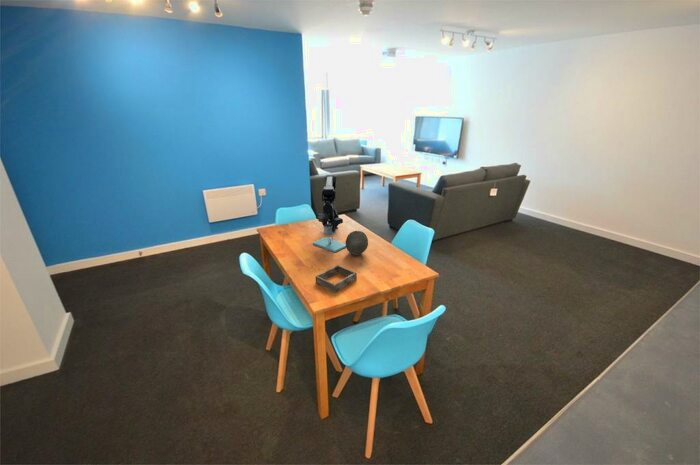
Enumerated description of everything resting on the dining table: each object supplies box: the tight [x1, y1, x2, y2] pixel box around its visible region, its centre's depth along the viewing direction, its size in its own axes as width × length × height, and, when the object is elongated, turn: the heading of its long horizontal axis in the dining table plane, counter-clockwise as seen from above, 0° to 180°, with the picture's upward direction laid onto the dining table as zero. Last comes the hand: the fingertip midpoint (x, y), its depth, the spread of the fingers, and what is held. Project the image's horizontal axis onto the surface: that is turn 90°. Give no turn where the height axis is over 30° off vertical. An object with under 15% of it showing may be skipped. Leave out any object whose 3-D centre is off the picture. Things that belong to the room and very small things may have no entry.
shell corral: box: [315, 264, 358, 293], centre depth 154 cm, size 16×14×4 cm
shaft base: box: [312, 236, 347, 253], centre depth 196 cm, size 12×20×5 cm, turn 49°
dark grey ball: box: [345, 230, 369, 256], centre depth 181 cm, size 14×14×15 cm
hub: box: [323, 223, 336, 236], centre depth 192 cm, size 7×7×5 cm
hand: (329, 231), depth 193 cm, fingers closed on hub, 7 cm apart
